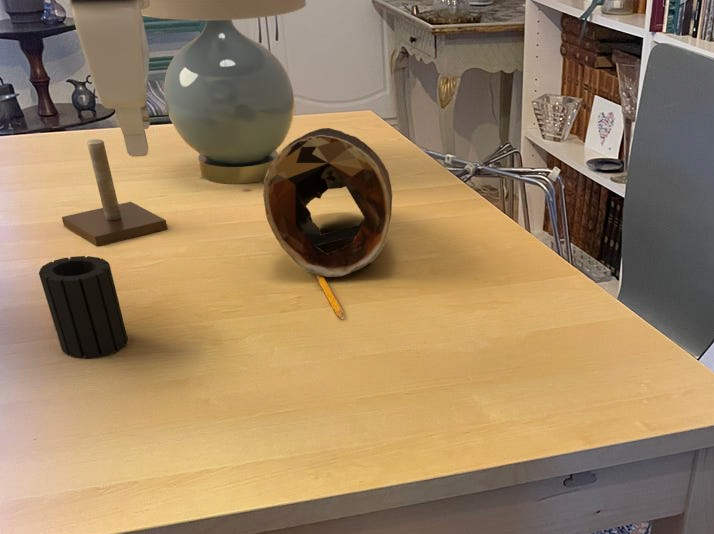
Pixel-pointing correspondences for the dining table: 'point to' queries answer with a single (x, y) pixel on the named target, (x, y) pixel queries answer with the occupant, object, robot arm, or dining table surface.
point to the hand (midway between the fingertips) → (140, 140)
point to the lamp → (228, 88)
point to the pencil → (330, 296)
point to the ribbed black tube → (84, 306)
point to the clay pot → (310, 180)
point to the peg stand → (111, 209)
